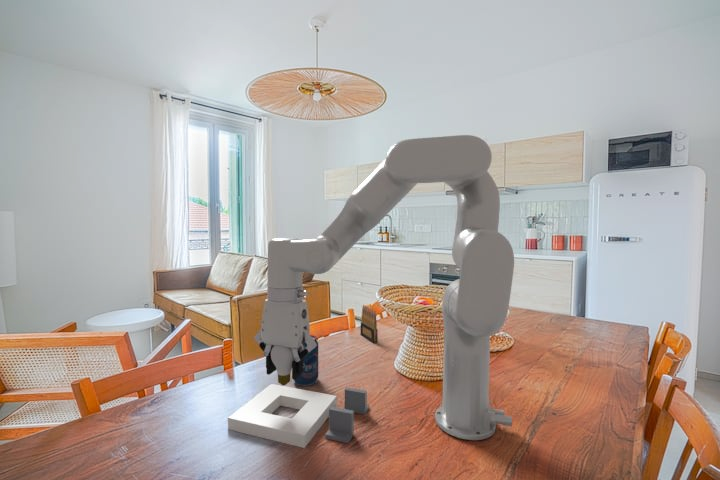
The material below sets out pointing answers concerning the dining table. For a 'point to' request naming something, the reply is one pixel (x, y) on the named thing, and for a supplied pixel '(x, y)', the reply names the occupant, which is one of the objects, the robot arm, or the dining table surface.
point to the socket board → (282, 429)
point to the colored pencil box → (369, 325)
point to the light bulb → (282, 363)
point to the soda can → (309, 367)
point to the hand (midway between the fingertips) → (284, 373)
